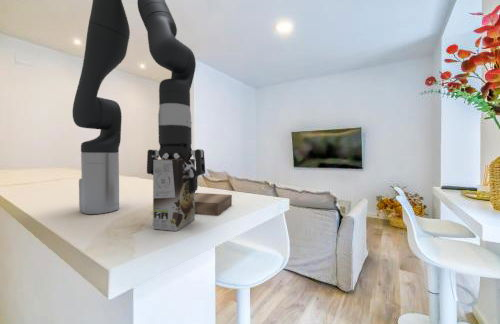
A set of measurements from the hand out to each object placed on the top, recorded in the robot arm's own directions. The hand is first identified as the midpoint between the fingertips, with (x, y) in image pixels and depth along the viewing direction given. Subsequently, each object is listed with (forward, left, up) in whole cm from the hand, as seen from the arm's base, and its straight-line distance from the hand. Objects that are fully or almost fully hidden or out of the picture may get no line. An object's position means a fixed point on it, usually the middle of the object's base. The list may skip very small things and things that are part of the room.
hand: (176, 192), depth 54 cm
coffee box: (0, 0, -8) cm, 8 cm away
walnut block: (+1, +16, -8) cm, 18 cm away
